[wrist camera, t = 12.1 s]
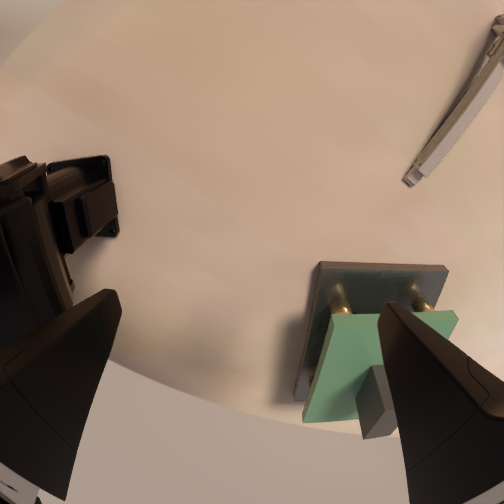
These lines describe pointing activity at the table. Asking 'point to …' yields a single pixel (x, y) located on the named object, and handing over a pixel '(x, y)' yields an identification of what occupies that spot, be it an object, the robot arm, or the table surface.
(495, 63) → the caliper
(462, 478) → the robot arm
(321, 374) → the board
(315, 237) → the table surface
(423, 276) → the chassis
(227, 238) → the table surface
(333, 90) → the table surface
